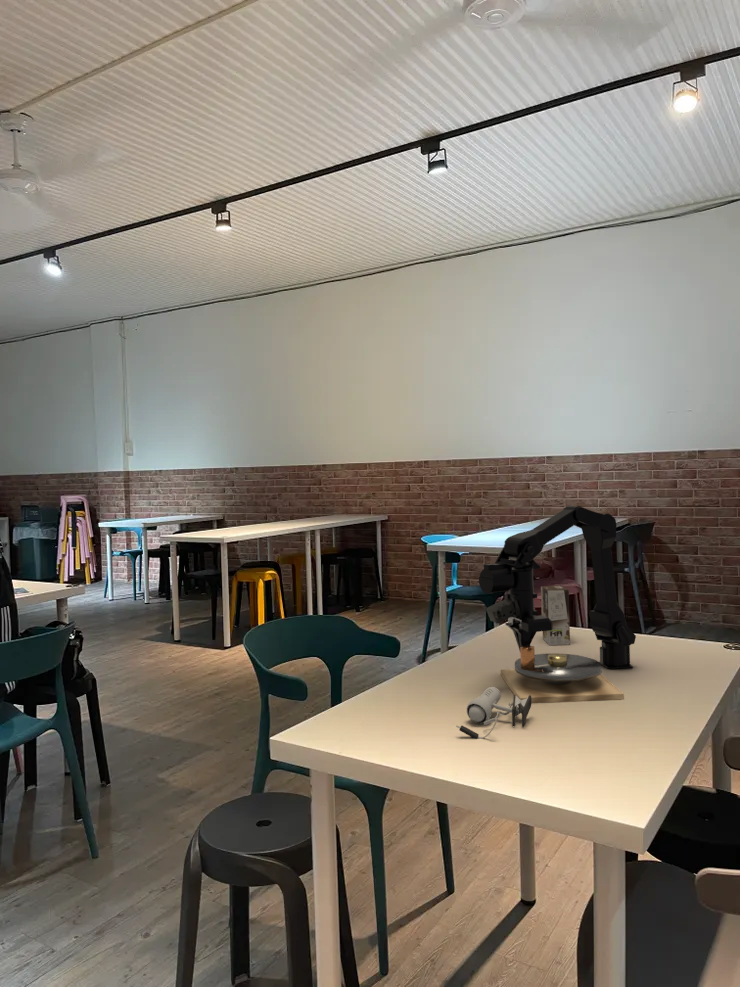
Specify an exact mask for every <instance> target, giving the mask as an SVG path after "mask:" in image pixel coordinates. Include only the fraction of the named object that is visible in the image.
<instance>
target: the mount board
mask: <svg viewBox="0 0 740 987" xmlns="http://www.w3.org/2000/svg"><path fill="white" fill-rule="evenodd" d="M499 672H500V676H501V677H502V679H503V680H504V682H505V683H506V685H507V686H508V688H509V689H510V691H512V694H513V696H514V695H516V696H517V697H518V698H519V699H520V700H524V699H526V698H528V697H529V695H531V704H537V703H542V704H543V703H557V702H558V703H562V702H565V703H566V702H567V703H568V702H585V701H587V702H588V701H611V700H614V701H615V700H624V699H625V694H624V693H623V692H622V691H621V690H620V689H619V688H618V687H617V686H616V685H614V684H613V683H612V682H611V681H609V680H608V679H607V678H606V677H605V676H604V675H602V673H601V674H600V675H599V676H597V677H594V678H591V679H587V680H581V681H567V682H560V681H545V680H538V679H533V678H529V677H526V676H523V675H521V674H519V673H517V672H516V671H515V668H512V669H511V668H509V669H508V668H505V669H500V670H499Z"/></svg>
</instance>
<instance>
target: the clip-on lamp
mask: <svg viewBox="0 0 740 987" xmlns="http://www.w3.org/2000/svg"><path fill="white" fill-rule="evenodd" d="M501 698H502V696H501V691H500V690H499V689H498V688H497V687H495V686H489V687H487V688H486V689H485V690H484V691H483V692H482V693H481V695H479V696H478V697H476V698H473V699H471V700H470V701H469V702H468V704H467V706H466V714H467V716H468V718H469V719H470V720H471V721H472V722H473V723H475V724H479V725H480V724H483V726H486V725H489V724H491V723H494V724H493V725H492V727H491V729H490V731H489V732H488V733H487V734H485V736H479V733H477V732H475V731H473V730H471V729H470V728H468V727H467V726H464V725H461V726H460V725H456V726H455V727H456V728H457V729H459V731H460V732H462V733H463V734H465V735H467V736H469V737H471V738H473V739H475V740H477V739H485V738H487V737H488V736H489V735H490V733H491V732H492V731H493V730H494V728H495V726H496V725H497V722H498V718H499V714H500V715H503V716H507V715H509V714H511V719H512V720H511V723H512V724H511V725H512V727H513V726H514V727H515V726H516V724H515V723H516V717H518V716H519V715H520V714H521V727H522V728H524V727H525V726H526V720H527V717H528V714H529V713H530V711H531V708H532V703H531V695H529V697H528V698H526V699H524V700H520V699H519V698H518V697H517V696H516V695H514V694H513V699H512V700H513V701H512V702H508V706H509V707H508V706H506V705H501V704H498V702H500V700H501ZM493 709H496V710H498V711H497V713H496V716H495V717H493V718H491V717H492V712H493Z"/></svg>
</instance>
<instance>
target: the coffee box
mask: <svg viewBox="0 0 740 987" xmlns="http://www.w3.org/2000/svg"><path fill="white" fill-rule="evenodd" d="M540 596H541V597H540V598H541V600H540V601H541V615H542V616H545V617H547V618H549V619H550V620H551V621H552V623H553V630H549V631H542V639H543V640H544V641H545V643H547V644H548V646H569V645H571V632H570V630H571V629H570V627H571V625H570V590H569V589H568V588H566V587H565V586H563V585H561V584H559V585H546V586H545V585H544V586H543V585H541V586H540Z"/></svg>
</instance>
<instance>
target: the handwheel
mask: <svg viewBox="0 0 740 987" xmlns="http://www.w3.org/2000/svg"><path fill="white" fill-rule="evenodd" d="M519 654H520V658H518V659H516V660H515V661H514V669H515V671H516V672H517V673H519V674H521V675H523V676H526V677H529V678H533V679H538V680H545V681H560V682H567V681H581V680H587V679H591V678H594V677H597V676H599V675H600V674H601V675H602V672H603V665H602V664H601V663H600V661H599V660H596V659H594V658H591V657H588V656H585V655H584V656H583V655H577V654H570V653H569V654H568V653H559V652H558V653H537V654H535V646H534V645H530V646H529V645H525V646H521V647H520V650H519Z"/></svg>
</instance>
